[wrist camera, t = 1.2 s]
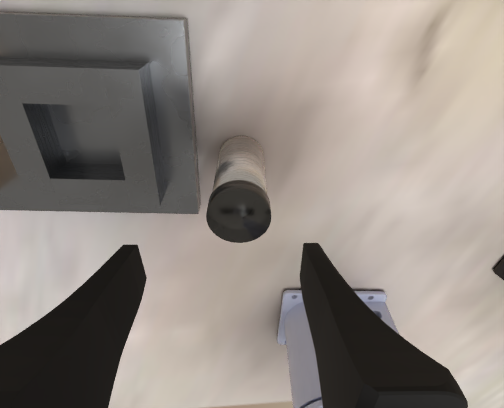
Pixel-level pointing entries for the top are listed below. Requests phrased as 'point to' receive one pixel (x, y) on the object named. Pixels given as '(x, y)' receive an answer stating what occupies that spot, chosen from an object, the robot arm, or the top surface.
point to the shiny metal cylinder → (239, 192)
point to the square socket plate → (96, 114)
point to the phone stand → (500, 269)
